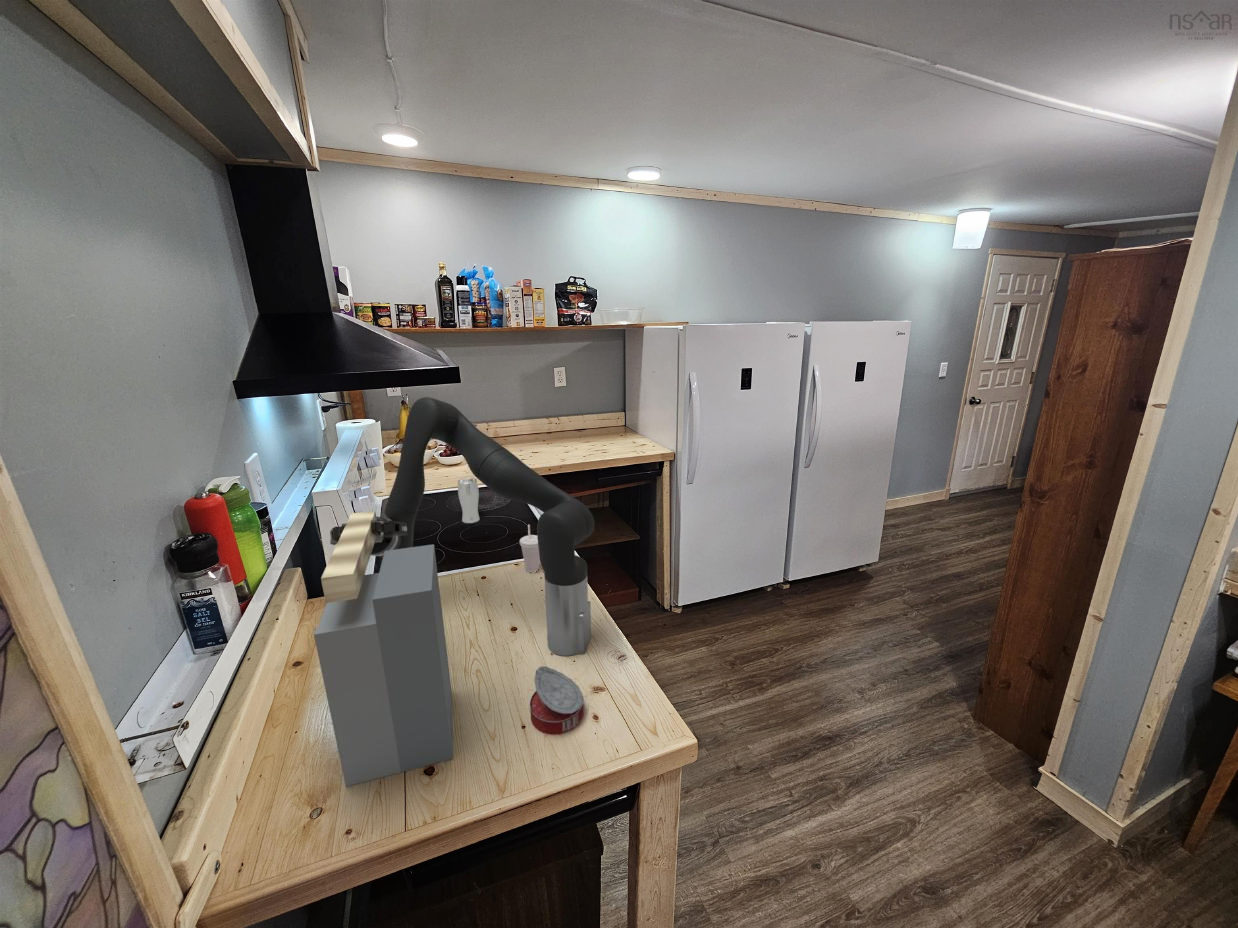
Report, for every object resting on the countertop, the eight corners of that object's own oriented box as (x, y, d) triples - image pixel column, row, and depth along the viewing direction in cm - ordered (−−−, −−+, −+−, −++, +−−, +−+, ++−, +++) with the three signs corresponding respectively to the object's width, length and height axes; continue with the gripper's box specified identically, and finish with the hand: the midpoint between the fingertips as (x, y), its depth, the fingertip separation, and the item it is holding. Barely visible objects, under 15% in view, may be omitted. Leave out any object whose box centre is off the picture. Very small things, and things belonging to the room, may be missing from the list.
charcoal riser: (361, 712, 92) (332, 557, 82) (451, 692, 97) (434, 544, 87) (345, 786, 77) (308, 609, 68) (452, 758, 82) (431, 590, 73)
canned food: (553, 712, 98) (565, 661, 99) (589, 735, 91) (602, 680, 93) (508, 720, 89) (523, 664, 91) (545, 745, 83) (560, 685, 84)
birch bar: (354, 533, 91) (351, 513, 90) (378, 530, 92) (375, 510, 91) (325, 603, 69) (320, 578, 68) (357, 598, 71) (353, 573, 69)
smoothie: (533, 562, 147) (531, 519, 143) (548, 569, 143) (546, 524, 139) (516, 570, 143) (513, 526, 139) (531, 577, 139) (528, 532, 135)
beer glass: (460, 524, 174) (456, 484, 169) (461, 517, 180) (457, 478, 176) (481, 522, 175) (477, 483, 171) (480, 515, 182) (477, 476, 178)
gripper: (337, 523, 100) (311, 511, 84) (412, 514, 104) (401, 502, 88) (338, 560, 98) (312, 555, 82) (414, 550, 103) (404, 543, 87)
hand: (358, 527), depth 85 cm, fingers closed on birch bar, 4 cm apart
